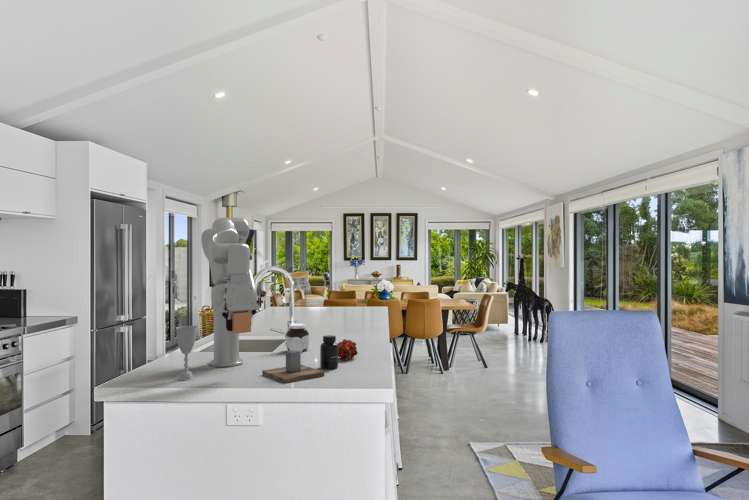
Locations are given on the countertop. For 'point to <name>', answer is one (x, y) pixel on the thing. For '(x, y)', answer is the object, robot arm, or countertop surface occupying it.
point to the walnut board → (293, 374)
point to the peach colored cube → (241, 322)
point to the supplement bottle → (329, 353)
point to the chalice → (186, 347)
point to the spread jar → (297, 338)
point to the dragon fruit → (346, 349)
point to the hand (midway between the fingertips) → (238, 329)
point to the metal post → (293, 361)
